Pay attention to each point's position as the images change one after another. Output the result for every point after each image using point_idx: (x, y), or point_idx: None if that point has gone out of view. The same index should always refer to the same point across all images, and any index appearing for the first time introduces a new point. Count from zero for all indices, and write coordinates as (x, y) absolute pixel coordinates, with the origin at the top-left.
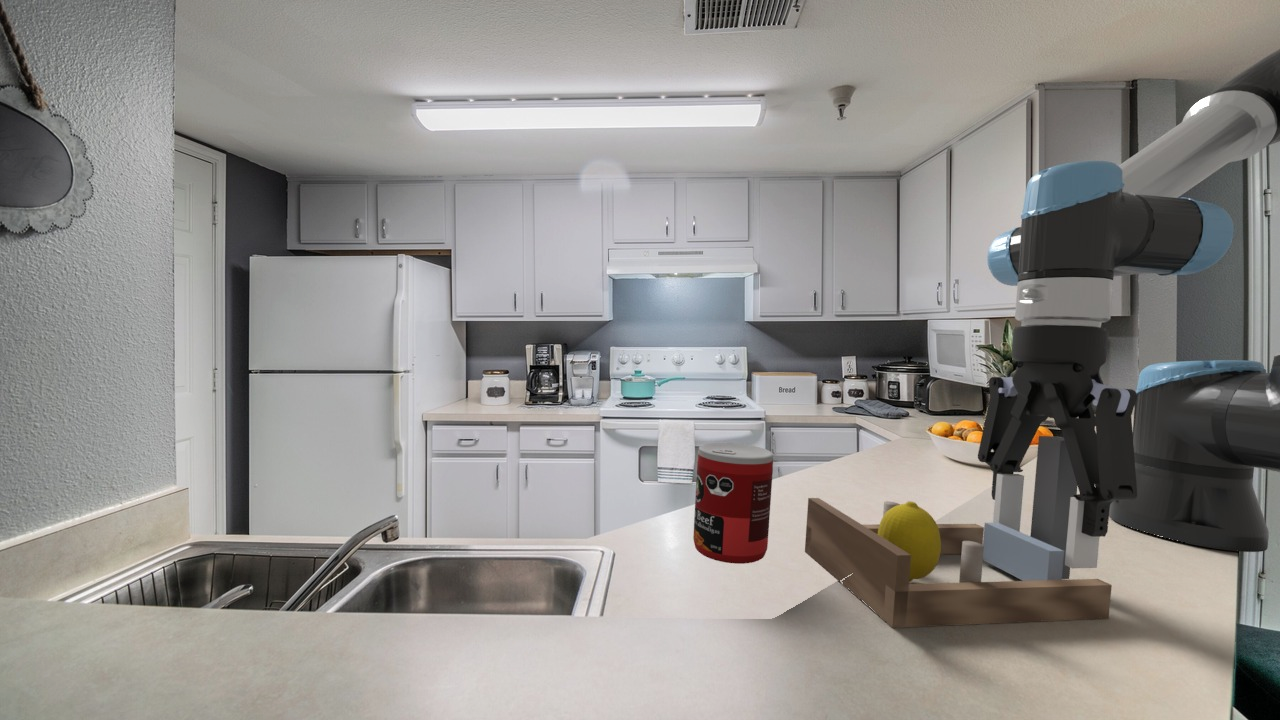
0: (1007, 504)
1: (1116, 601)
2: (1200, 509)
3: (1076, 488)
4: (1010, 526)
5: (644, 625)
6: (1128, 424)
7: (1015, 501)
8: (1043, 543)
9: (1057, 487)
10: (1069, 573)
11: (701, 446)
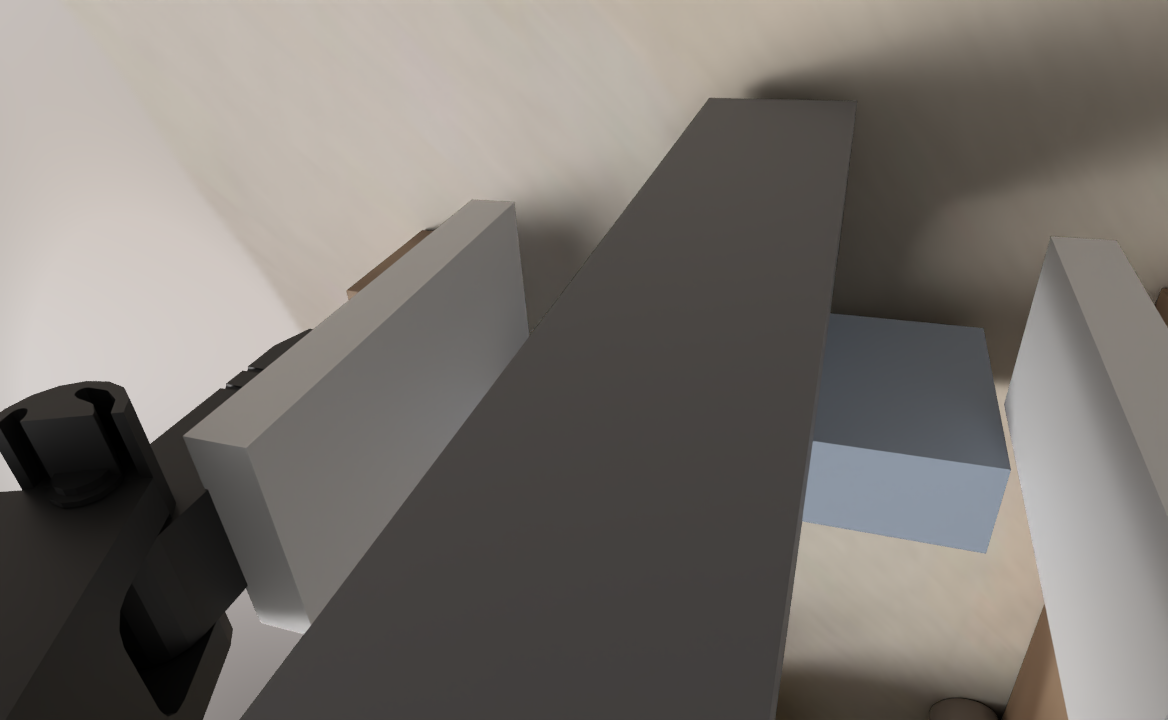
0: (435, 411)
1: (1130, 5)
2: None
3: (804, 453)
4: (500, 294)
5: None
6: None
7: (413, 368)
8: (869, 470)
9: (780, 678)
10: (853, 108)
11: None
